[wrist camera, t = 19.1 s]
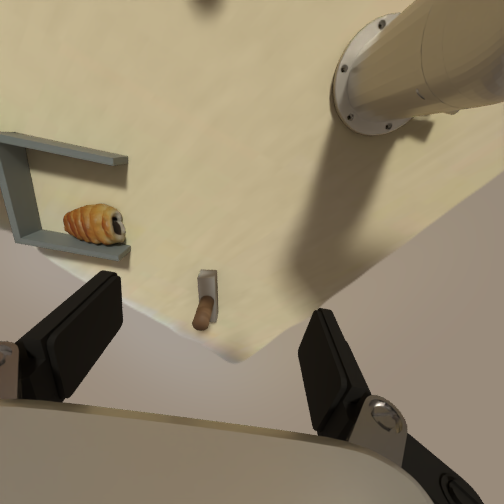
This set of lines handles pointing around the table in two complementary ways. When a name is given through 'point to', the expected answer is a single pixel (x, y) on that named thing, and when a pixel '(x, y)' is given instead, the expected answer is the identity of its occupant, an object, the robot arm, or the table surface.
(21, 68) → the table surface
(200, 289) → the stamp with brown handle
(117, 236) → the pastry
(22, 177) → the u-shaped bracket
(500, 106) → the table surface
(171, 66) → the table surface
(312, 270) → the table surface
